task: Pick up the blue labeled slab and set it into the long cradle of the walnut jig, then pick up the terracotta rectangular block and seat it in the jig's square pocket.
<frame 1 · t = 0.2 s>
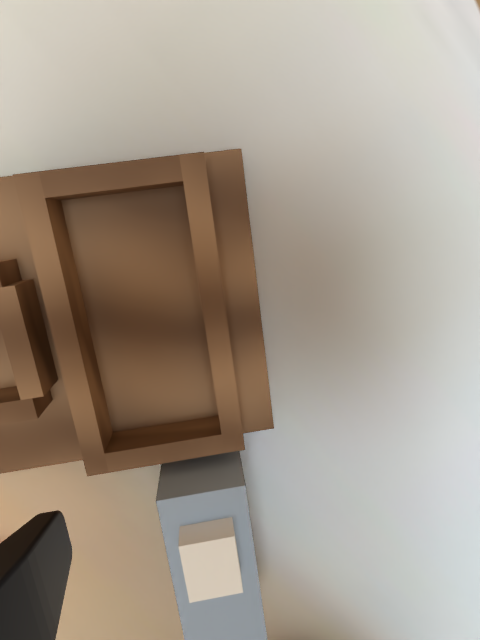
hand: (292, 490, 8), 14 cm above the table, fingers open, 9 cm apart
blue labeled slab: (212, 512, 24), on the table
jig: (59, 323, 21), on the table
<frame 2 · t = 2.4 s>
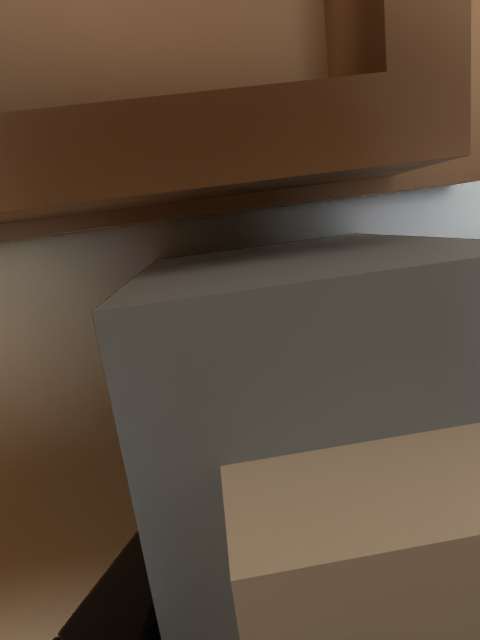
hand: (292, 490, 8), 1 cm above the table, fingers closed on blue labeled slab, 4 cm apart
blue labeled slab: (282, 469, 9), on the table, touching gripper
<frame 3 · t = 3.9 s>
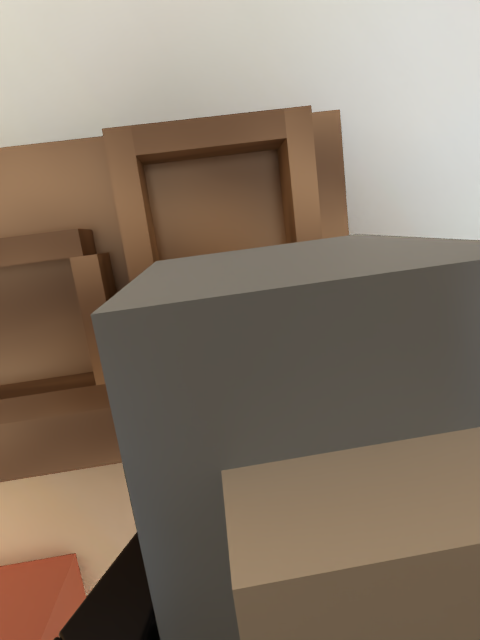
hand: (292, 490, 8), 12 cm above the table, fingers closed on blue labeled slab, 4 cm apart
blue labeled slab: (283, 471, 9), point 11 cm above the table, touching gripper
terracotta rectangular block: (23, 591, 21), on the table
jig: (130, 305, 19), on the table
when the fingers open (4 cm above the table, at t = 5.7 s): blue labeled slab drops 2 cm, resting on jig.
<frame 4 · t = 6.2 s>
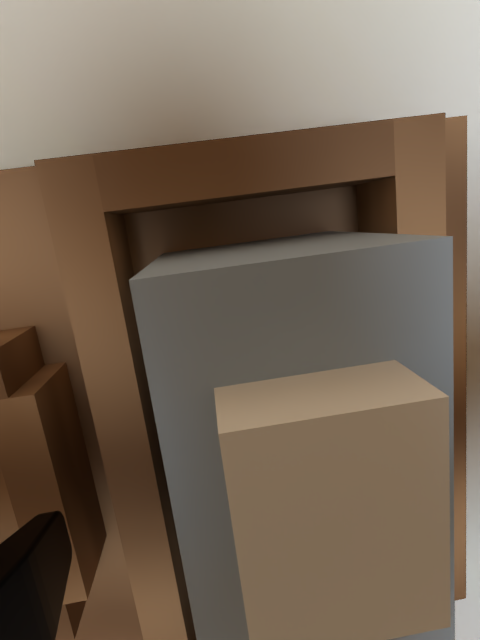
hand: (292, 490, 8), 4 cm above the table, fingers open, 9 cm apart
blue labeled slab: (270, 431, 11), point 1 cm above the table, touching jig
jig: (107, 429, 12), on the table
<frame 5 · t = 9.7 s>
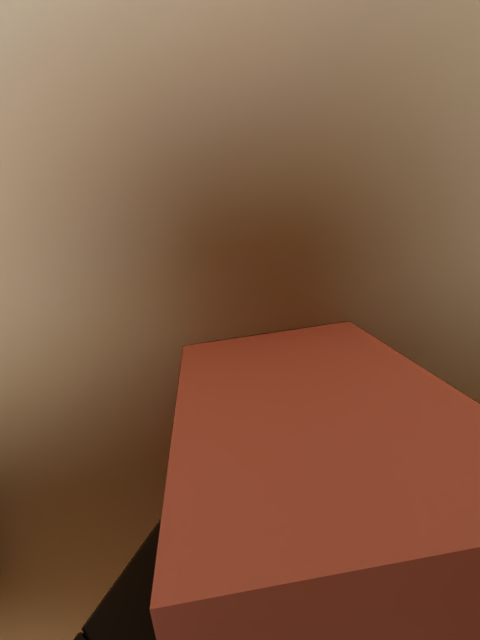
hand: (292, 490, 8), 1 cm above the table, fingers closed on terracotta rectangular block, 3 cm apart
terracotta rectangular block: (281, 461, 9), on the table, touching gripper
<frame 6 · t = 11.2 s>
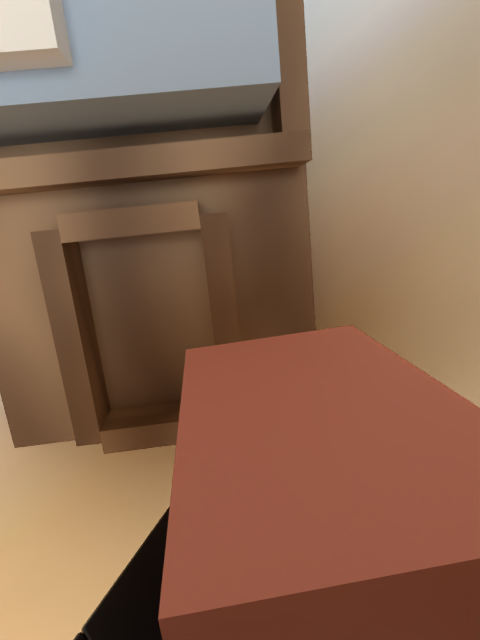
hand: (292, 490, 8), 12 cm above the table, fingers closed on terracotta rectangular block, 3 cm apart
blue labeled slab: (122, 77, 16), point 1 cm above the table, touching jig
terracotta rectangular block: (284, 464, 9), point 11 cm above the table, touching gripper
jig: (139, 203, 18), on the table
when the fingers open (4 cm above the table, at t = 13.0 s): terracotta rectangular block drops 2 cm, resting on jig.
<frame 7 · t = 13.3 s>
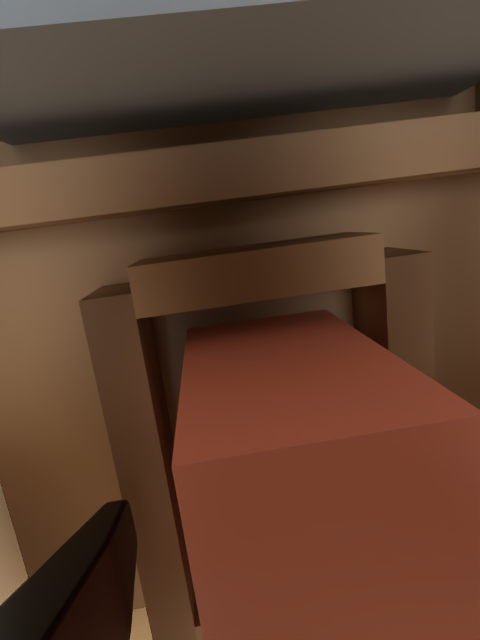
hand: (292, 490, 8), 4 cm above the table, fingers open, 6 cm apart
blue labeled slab: (229, 18, 9), point 1 cm above the table, touching jig
terracotta rectangular block: (269, 428, 11), point 1 cm above the table, touching jig
jig: (239, 233, 11), on the table
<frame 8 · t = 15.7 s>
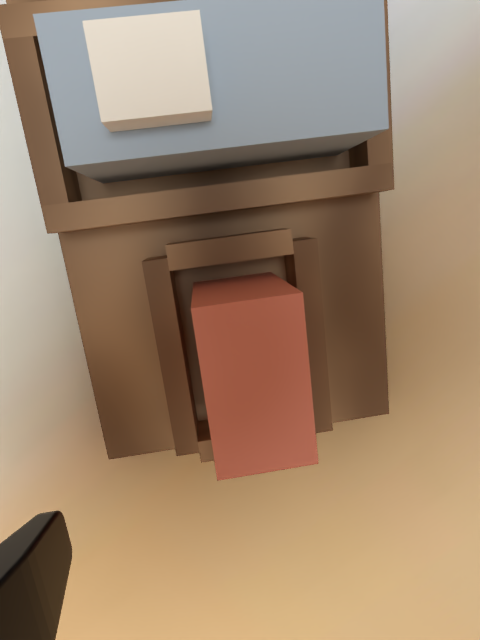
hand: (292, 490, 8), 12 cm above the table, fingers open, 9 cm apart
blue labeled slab: (215, 118, 17), point 1 cm above the table, touching jig
terracotta rectangular block: (240, 340, 19), point 1 cm above the table, touching jig
jig: (223, 229, 19), on the table
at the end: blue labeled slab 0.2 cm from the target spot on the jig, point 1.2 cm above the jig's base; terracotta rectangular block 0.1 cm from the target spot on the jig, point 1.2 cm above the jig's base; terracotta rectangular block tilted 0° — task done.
